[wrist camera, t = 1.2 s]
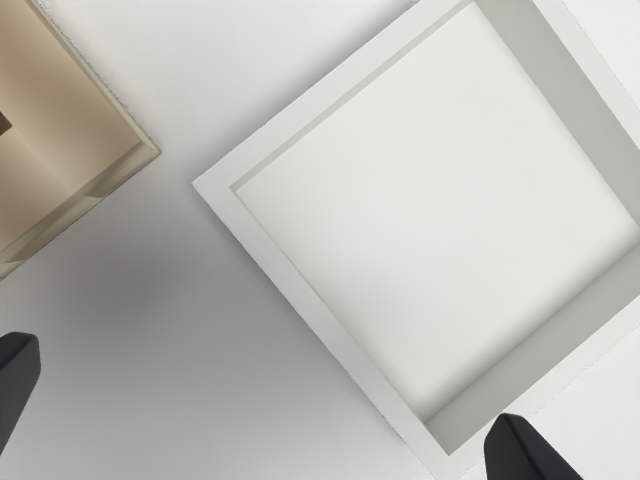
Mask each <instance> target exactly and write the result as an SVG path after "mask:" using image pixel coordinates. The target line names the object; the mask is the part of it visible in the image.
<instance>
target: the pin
mask: <svg viewBox="0 0 640 480" xmlns="http://www.w3.org/2000/svg"><path fill="white" fill-rule="evenodd" d="M11 127H13V125H12V124H11V123H10V122H9V121H8V119H7V118H6V117H5V116H4V115H3V114H2V112H1V111H0V136H1V135H2V134H4V133H5V132H6V131H7V130H9V129H10V128H11Z"/></svg>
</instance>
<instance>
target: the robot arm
mask: <svg viewBox="0 0 640 480" xmlns="http://www.w3.org/2000/svg"><path fill="white" fill-rule="evenodd" d="M40 371H41V362H40V351H39V341H38V338H37V336H36V335H33V334H28V333H22V332H10V333H8V334H6V335H4V336H2V337H0V455H1V454H2V452H3V450H4V448H5V446H6V444H7V442H8V440H9V438H10V436H11V434H12V432H13V430H14V428H15V426H16V423H17V421H18V419H19V417H20V415H21V413H22V411H23V409H24V407H25V405H26V403H27V401H28V399H29V397H30V395H31V393H32V391H33V389H34V387H35V385H36V383H37V380H38V378H39V375H40ZM484 457H485V465H486V473H487V480H584V479H583V478H582V477H581V476H580V475H579V474H578V473H577V472H576V471H575V470H574V469H573V468H572V467H571V466H570V465H569V464H568V463H567V462H566V461H565V460H564V459H563V458H562V457H561V456H560V454H559V453H558V452H557V451H556V450H555V449H554V448H553V447H552V446H551V445H550V444H549V443H548V442H547V441H546V440H545V439H544V438H543V437H542V436H541V435H540V434H539V433H538V432H537V431H536V429H535V428H534V427H533V426H532V425H531V424H530V423H529V422H528V421H527V420H526V419H525V418H524V417H522V416H520V415H516V414H510V413H501V414H499V415H498V417H497V418H496V420H495V422H494V424H493V425H492V427H491V429H490V430H489V432H488V434H487V436H486V438H485V441H484Z"/></svg>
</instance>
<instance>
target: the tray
mask: <svg viewBox="0 0 640 480" xmlns="http://www.w3.org/2000/svg"><path fill="white" fill-rule="evenodd" d="M191 184H192V185H193V187H194V188H195V189H196V190H197V192H198V193H199V194H200V195H201V196H202V198H203V199H204V200H205V201H206V202H207V204H208V205H209V206H210V207H211V208H212V210H213V211H214V212H215V213H216V215H217V216H218V217H219V218H220V219H221V221H222V222H223V223H224V224H225V225H226V227H227V228H228V229H229V230H230V231H231V233H232V234H233V235H234V236H235V237H236V239H237V240H238V241H239V242H240V244H241V245H242V246H243V247H244V248H245V250H246V251H247V252H248V253H249V254H250V256H251V257H252V258H253V259H254V260H255V262H256V263H257V264H258V265H259V267H260V268H261V269H262V270H263V271H264V273H265V274H266V275H267V276H268V277H269V279H270V280H271V281H272V282H273V283H274V285H275V286H276V287H277V288H278V289H279V291H280V292H281V293H282V294H283V296H284V297H285V298H286V299H287V300H288V302H289V303H290V304H291V305H292V306H293V308H294V309H295V310H296V311H297V312H298V314H299V315H300V316H301V317H302V319H303V320H304V321H305V322H306V323H307V325H308V326H309V327H310V328H311V329H312V331H313V332H314V333H315V334H316V335H317V337H318V338H319V339H320V340H321V341H322V343H323V344H324V345H325V346H326V348H327V349H328V350H329V351H330V352H331V354H332V355H333V356H334V357H335V358H336V360H337V361H338V362H339V363H340V364H341V366H342V367H343V368H344V369H345V371H346V372H347V373H348V374H349V375H350V377H351V378H352V379H353V380H354V381H355V383H356V384H357V385H358V386H359V387H360V389H361V390H362V391H363V392H364V394H365V395H366V396H367V397H368V398H369V400H370V401H371V402H372V403H373V404H374V406H375V407H376V408H377V409H378V410H379V412H380V413H381V414H382V415H383V416H384V418H385V419H386V420H387V421H388V423H389V424H390V425H391V426H392V427H393V429H394V430H395V431H396V432H397V433H398V435H399V436H400V437H401V438H402V439H403V441H404V442H405V443H406V444H407V446H408V447H409V448H410V449H411V450H412V452H413V453H414V454H415V455H416V456H417V458H418V459H419V460H420V461H421V462H422V464H423V465H424V466H425V467H426V468H427V470H428V471H429V472H430V473H431V475H432V476H433V477H434V478H435V479H436V480H457V479H458V478H460V477H461V476H462V475H463V474H464V473H466V472H467V471H468V470H469V469H470V468H471V467H473V466H474V465H475V464H476V463H477V462H478V461H480V460H481V459H482V458H483V457H484V441H485V438H486V436H487V434H488V432H489V430H490V429H491V427H492V425H493V424H494V422H495V420H496V418H497V417H498V415H499V414H501V413H510V414H516V415H520V416H522V417H524V418H525V419H526V420H528V419H529V418H530V417H531V416H533V415H534V414H535V413H536V412H537V411H538V410H540V409H541V408H542V407H543V406H544V405H546V404H547V403H548V402H549V401H550V400H551V399H553V398H554V397H555V396H556V395H557V394H558V393H560V392H561V391H562V390H563V389H564V388H566V387H567V386H568V385H569V384H570V383H571V382H573V381H574V380H575V379H576V378H577V377H578V376H580V375H581V374H582V373H583V372H584V371H586V370H587V369H588V368H589V367H590V366H591V365H593V364H594V363H595V362H596V361H597V360H598V359H600V358H601V357H602V356H603V355H604V354H606V353H607V352H608V351H609V350H610V349H611V348H613V347H614V346H615V345H616V344H617V343H618V342H620V341H621V340H622V339H623V338H624V337H626V336H627V335H628V334H629V333H630V332H631V331H633V330H634V329H635V328H636V327H637V326H638V325H640V109H639V108H638V106H637V105H636V104H635V102H634V101H633V99H632V98H631V97H630V95H629V94H628V92H627V91H626V89H625V88H624V87H623V85H622V84H621V82H620V81H619V80H618V78H617V77H616V75H615V74H614V73H613V71H612V70H611V68H610V67H609V65H608V64H607V63H606V61H605V60H604V58H603V57H602V56H601V54H600V53H599V51H598V50H597V49H596V47H595V46H594V44H593V43H592V41H591V40H590V39H589V37H588V36H587V34H586V33H585V32H584V30H583V29H582V27H581V26H580V25H579V23H578V22H577V20H576V19H575V17H574V16H573V15H572V13H571V12H570V10H569V9H568V8H567V6H566V5H565V3H564V2H563V1H562V0H420V1H419V2H417V3H416V4H415V5H413V6H412V7H411V8H410V9H408V10H407V11H406V12H405V13H403V14H402V15H401V16H400V17H398V18H397V19H396V20H395V21H393V22H392V23H391V24H390V25H388V26H387V27H386V28H385V29H383V30H382V31H381V32H380V33H378V34H377V35H376V36H375V37H373V38H372V39H371V40H370V41H368V42H367V43H366V44H365V45H363V46H362V47H361V48H359V49H358V50H357V51H356V52H354V53H353V54H352V55H351V56H349V57H348V58H347V59H346V60H344V61H343V62H342V63H341V64H339V65H338V66H337V67H336V68H334V69H333V70H332V71H331V72H329V73H328V74H327V75H326V76H324V77H323V78H322V79H321V80H319V81H318V82H317V83H316V84H314V85H313V86H312V87H311V88H309V89H308V90H307V91H306V92H304V93H303V94H302V95H300V96H299V97H298V98H297V99H295V100H294V101H293V102H292V103H290V104H289V105H288V106H287V107H285V108H284V109H283V110H282V111H280V112H279V113H278V114H277V115H275V116H274V117H273V118H272V119H270V120H269V121H268V122H267V123H265V124H264V125H263V126H262V127H260V128H259V129H258V130H257V131H255V132H254V133H253V134H252V135H250V136H249V137H248V138H246V139H245V140H244V141H243V142H241V143H240V144H239V145H238V146H236V147H235V148H234V149H233V150H231V151H230V152H229V153H228V154H226V155H225V156H224V157H223V158H221V159H220V160H219V161H218V162H216V163H215V164H214V165H213V166H211V167H210V168H209V169H208V170H206V171H205V172H204V173H203V174H201V175H200V176H199V177H198V178H196V179H195V180H194V181H193V182H191Z"/></svg>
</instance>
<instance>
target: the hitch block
mask: <svg viewBox="0 0 640 480" xmlns="http://www.w3.org/2000/svg"><path fill="white" fill-rule="evenodd" d="M0 111H1V112H2V114H3V115H4V116H5V117H6V118H7V119H8V121H9V122H10V123H11V124H12V125H13V127H11V128H10V129H9V130H7V131H6V132H5V133H4V134H2V135H1V136H0V281H1V280H2V279H3V278H4V277H6V276H7V275H8V274H9V273H11V272H12V271H13V270H14V269H16V268H17V267H18V266H20V265H21V264H22V263H23V262H25V261H26V260H27V259H28V258H30V257H31V256H32V255H33V254H35V253H36V252H37V251H38V250H40V249H41V248H42V247H44V246H45V245H46V244H47V243H49V242H50V241H51V240H52V239H54V238H55V237H56V236H57V235H59V234H60V233H61V232H63V231H64V230H65V229H66V228H68V227H69V226H70V225H71V224H73V223H74V222H75V221H76V220H78V219H79V218H80V217H81V216H83V215H84V214H85V213H87V212H88V211H89V210H90V209H92V208H93V207H94V206H95V205H97V204H98V203H99V202H100V201H102V200H103V199H104V198H106V197H107V196H108V195H109V194H111V193H112V192H113V191H114V190H116V189H117V188H118V187H119V186H121V185H122V184H123V183H124V182H126V181H127V180H128V179H130V178H131V177H132V176H133V175H135V174H136V173H137V172H138V171H140V170H141V169H142V168H143V167H145V166H146V165H147V164H148V163H150V162H151V161H152V160H154V159H155V158H156V157H157V156H159V155H160V154H161V152H160V150H159V149H158V148H157V147H156V146H155V144H154V143H153V142H152V141H151V139H150V138H149V137H148V136H147V135H146V133H145V132H144V131H143V130H142V129H141V127H140V126H139V125H138V124H137V123H136V121H135V120H134V119H133V118H132V117H131V115H130V114H129V113H128V112H127V110H126V109H125V108H124V107H123V106H122V104H121V103H120V102H119V101H118V100H117V98H116V97H115V96H114V95H113V94H112V92H111V91H110V90H109V89H108V88H107V86H106V85H105V84H104V83H103V81H102V80H101V79H100V78H99V77H98V75H97V74H96V73H95V72H94V71H93V69H92V68H91V67H90V66H89V65H88V63H87V62H86V61H85V60H84V59H83V57H82V56H81V55H80V54H79V52H78V51H77V50H76V49H75V48H74V46H73V45H72V44H71V43H70V42H69V40H68V39H67V38H66V37H65V36H64V34H63V33H62V32H61V31H60V30H59V28H58V27H57V26H56V25H55V23H54V22H53V21H52V20H51V19H50V17H49V16H48V15H47V14H46V13H45V11H44V10H43V9H42V8H41V7H40V5H39V4H38V3H37V2H36V1H35V0H0Z"/></svg>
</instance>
